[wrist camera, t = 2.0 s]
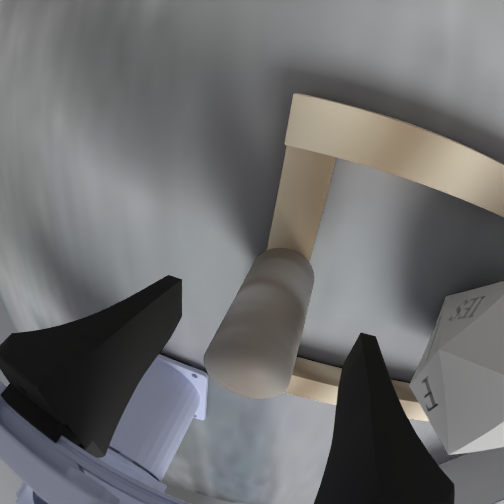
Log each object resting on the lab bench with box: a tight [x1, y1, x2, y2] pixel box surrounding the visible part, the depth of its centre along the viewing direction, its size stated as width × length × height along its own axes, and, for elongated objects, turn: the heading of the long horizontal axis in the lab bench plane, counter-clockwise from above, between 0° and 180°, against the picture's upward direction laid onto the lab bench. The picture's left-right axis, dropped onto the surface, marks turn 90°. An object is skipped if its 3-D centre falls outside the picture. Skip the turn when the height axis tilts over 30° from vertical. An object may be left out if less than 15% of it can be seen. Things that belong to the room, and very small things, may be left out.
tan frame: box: [204, 93, 504, 421], centre depth 11 cm, size 20×16×7 cm
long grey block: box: [438, 447, 504, 504], centre depth 19 cm, size 30×14×8 cm, turn 142°
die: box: [409, 281, 504, 455], centre depth 11 cm, size 8×9×10 cm
